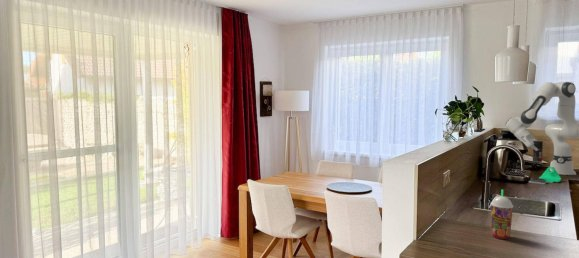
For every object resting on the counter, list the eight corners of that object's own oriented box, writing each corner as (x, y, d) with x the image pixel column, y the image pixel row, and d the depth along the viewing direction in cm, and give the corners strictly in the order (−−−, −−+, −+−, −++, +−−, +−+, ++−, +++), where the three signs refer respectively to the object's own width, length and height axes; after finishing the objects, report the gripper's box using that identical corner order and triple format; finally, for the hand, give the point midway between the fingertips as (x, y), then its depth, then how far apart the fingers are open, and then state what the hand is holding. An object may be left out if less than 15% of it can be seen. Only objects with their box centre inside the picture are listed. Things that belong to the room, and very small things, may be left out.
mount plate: (532, 180, 277) (532, 177, 277) (547, 182, 270) (547, 179, 270) (528, 182, 270) (528, 179, 270) (544, 184, 264) (544, 181, 264)
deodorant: (538, 162, 282) (539, 141, 281) (530, 161, 288) (531, 141, 287) (543, 161, 285) (544, 141, 284) (536, 160, 290) (536, 140, 289)
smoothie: (490, 238, 159) (492, 191, 157) (488, 232, 167) (489, 186, 165) (513, 241, 156) (515, 192, 154) (510, 234, 164) (511, 188, 162)
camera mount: (538, 181, 276) (539, 166, 275) (541, 179, 281) (541, 165, 281) (558, 183, 267) (559, 168, 267) (560, 181, 273) (561, 167, 272)
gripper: (523, 134, 282) (539, 148, 276) (530, 132, 297) (545, 145, 291) (516, 139, 286) (531, 154, 280) (524, 137, 300) (538, 151, 294)
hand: (538, 149), depth 285 cm, fingers closed on deodorant, 6 cm apart
